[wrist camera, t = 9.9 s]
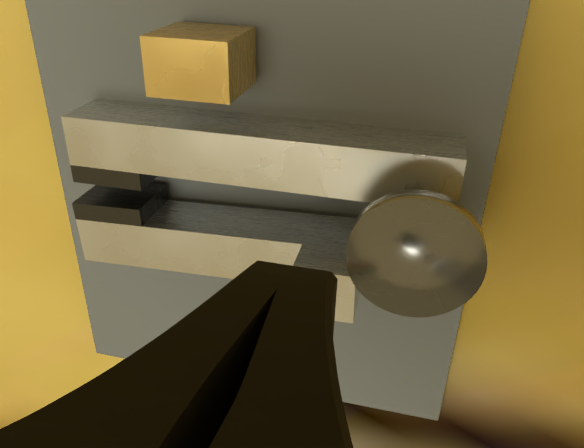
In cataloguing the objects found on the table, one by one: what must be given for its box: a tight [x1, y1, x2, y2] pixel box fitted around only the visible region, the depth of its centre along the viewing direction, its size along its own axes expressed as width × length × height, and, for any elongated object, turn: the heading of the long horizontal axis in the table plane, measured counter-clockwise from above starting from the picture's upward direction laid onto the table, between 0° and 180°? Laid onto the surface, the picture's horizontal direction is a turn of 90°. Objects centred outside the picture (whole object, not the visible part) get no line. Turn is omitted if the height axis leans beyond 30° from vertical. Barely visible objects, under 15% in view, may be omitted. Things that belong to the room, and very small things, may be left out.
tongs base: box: [61, 99, 467, 203], centre depth 17 cm, size 12×3×3 cm, turn 88°
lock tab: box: [140, 21, 256, 105], centre depth 15 cm, size 2×2×2 cm
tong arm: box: [72, 183, 487, 323], centre depth 17 cm, size 13×4×3 cm, turn 90°
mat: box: [25, 0, 530, 421], centre depth 19 cm, size 15×16×1 cm
